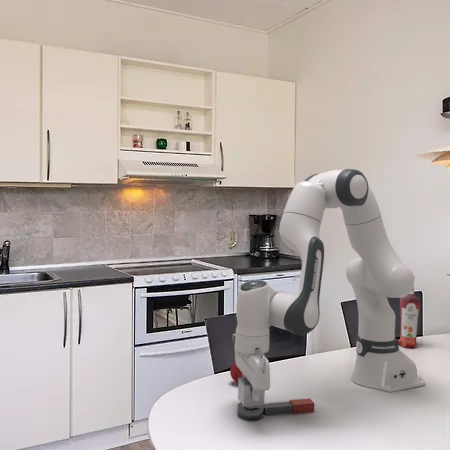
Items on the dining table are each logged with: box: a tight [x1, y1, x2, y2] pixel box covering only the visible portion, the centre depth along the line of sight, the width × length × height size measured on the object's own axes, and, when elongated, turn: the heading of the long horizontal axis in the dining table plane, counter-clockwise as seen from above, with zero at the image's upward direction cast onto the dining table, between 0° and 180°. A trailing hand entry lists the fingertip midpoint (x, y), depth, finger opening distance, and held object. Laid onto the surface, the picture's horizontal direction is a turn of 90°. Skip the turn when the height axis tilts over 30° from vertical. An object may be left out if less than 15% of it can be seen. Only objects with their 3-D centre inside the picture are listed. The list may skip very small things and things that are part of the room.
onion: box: [229, 361, 243, 384], centre depth 154 cm, size 6×6×8 cm
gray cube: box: [237, 377, 266, 407], centre depth 131 cm, size 6×6×6 cm
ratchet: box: [236, 398, 315, 422], centre depth 133 cm, size 21×7×6 cm, turn 104°
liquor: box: [399, 275, 421, 349], centre depth 195 cm, size 7×7×28 cm
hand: (251, 394), depth 132 cm, fingers closed on gray cube, 5 cm apart
